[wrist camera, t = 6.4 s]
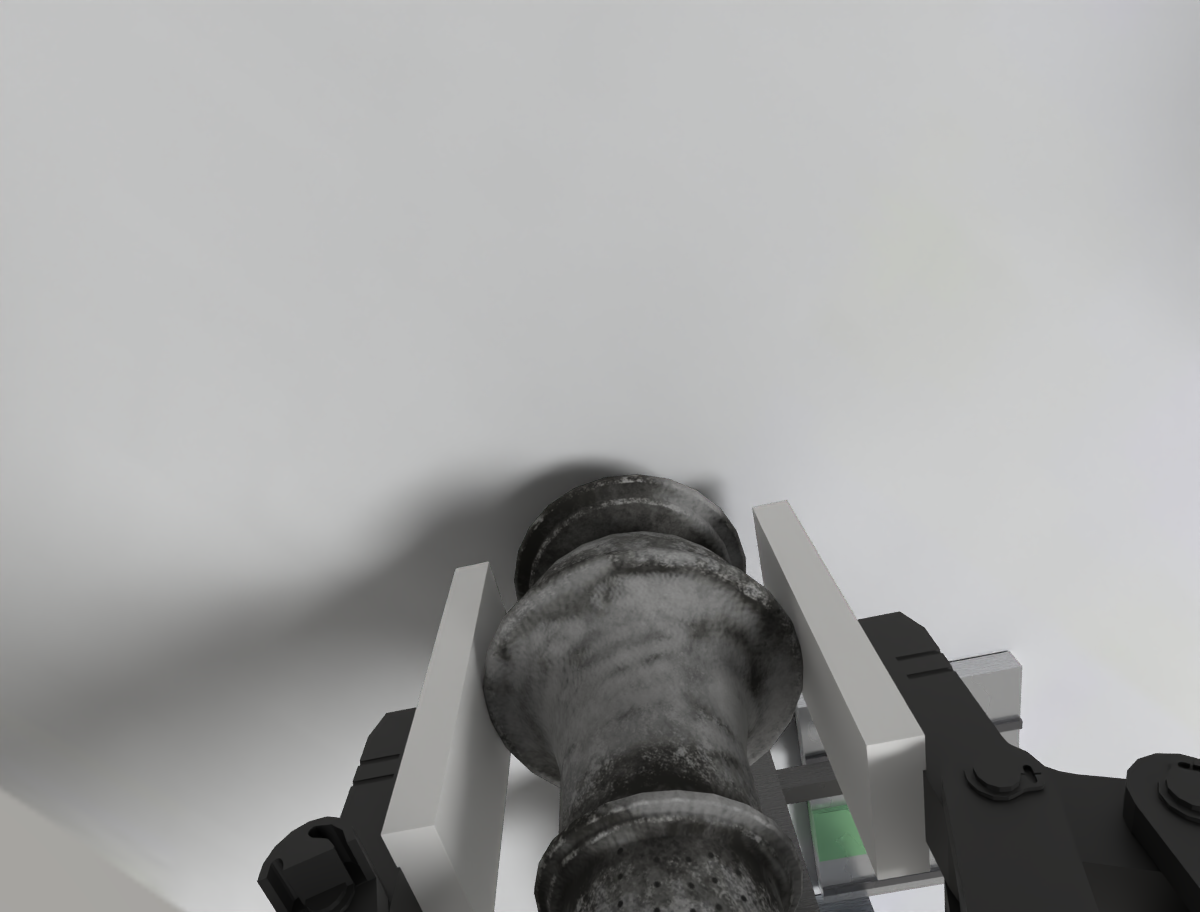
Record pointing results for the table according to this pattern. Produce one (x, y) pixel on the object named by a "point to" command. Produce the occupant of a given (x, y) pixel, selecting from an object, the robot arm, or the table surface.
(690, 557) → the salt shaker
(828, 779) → the plunger
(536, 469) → the table surface
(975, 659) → the gauge
